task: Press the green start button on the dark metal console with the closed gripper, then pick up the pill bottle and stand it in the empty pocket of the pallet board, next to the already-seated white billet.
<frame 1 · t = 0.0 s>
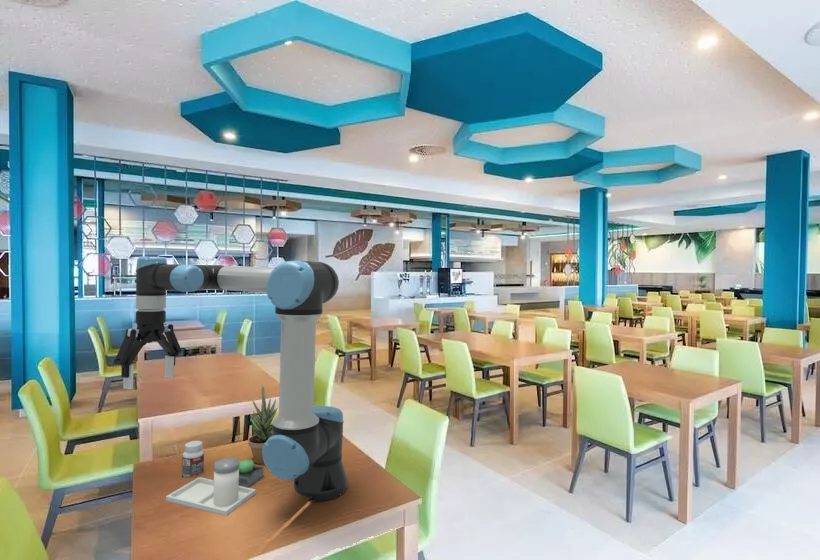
hand: (149, 383, 127), 28 cm above the table, fingers open, 13 cm apart
start button: (245, 466, 126), point 5 cm above the table, slide at 0.0 cm
seated billet: (225, 500, 115), resting on pallet board
pallet board: (211, 501, 116), on the table
pill bottle: (192, 477, 130), on the table
potted plant: (263, 460, 142), on the table
console: (245, 484, 126), on the table
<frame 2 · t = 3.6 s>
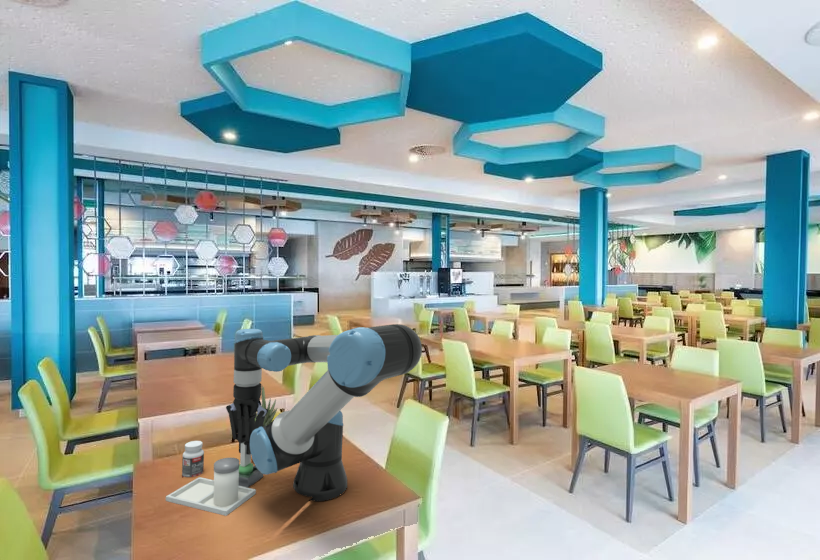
hand: (245, 464, 126), 6 cm above the table, fingers closed
start button: (245, 468, 126), point 4 cm above the table, slide at 0.8 cm, touching gripper
everything else where it was.
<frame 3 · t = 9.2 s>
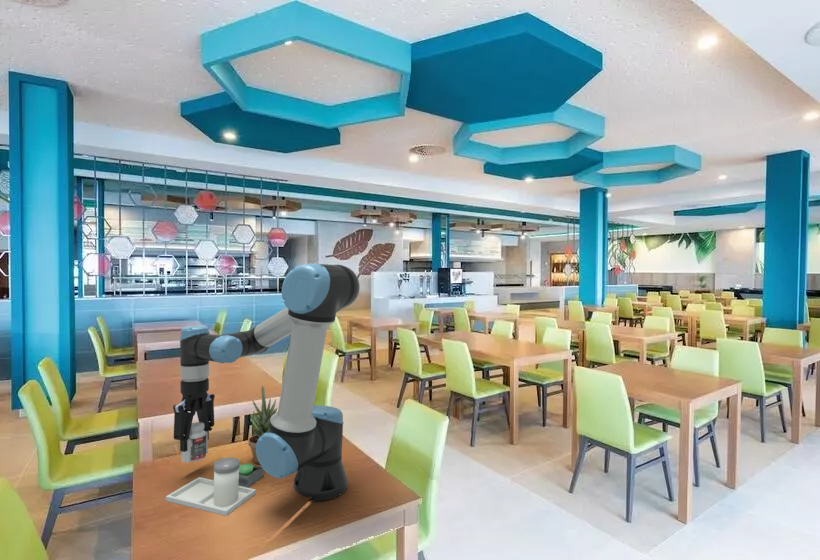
hand: (194, 456, 129), 6 cm above the table, fingers closed on pill bottle, 6 cm apart
start button: (245, 470, 126), point 4 cm above the table, slide at 1.2 cm
pill bottle: (195, 459, 129), point 6 cm above the table, touching gripper
everything else where it was.
when the fingers open (2 cm above the table, at t = 13.1 s): pill bottle stays where it is, resting on pallet board.
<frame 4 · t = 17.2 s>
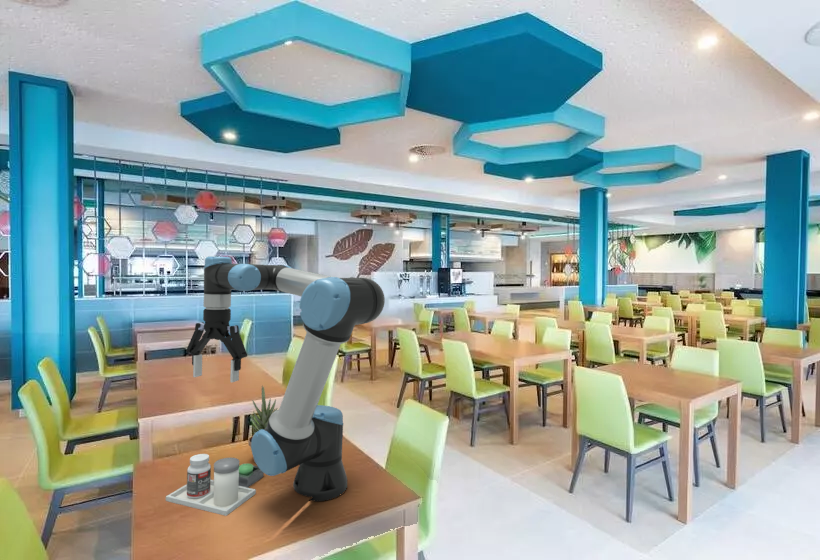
hand: (215, 378, 131), 29 cm above the table, fingers open, 13 cm apart
pill bottle: (198, 494, 118), point 1 cm above the table, touching pallet board
everything else where it was.
at the end: start button slide at 1.2 cm; pill bottle 0.3 cm from the target spot on the pallet board, point 1.1 cm above the pallet board's base; pill bottle tilted 0° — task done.
